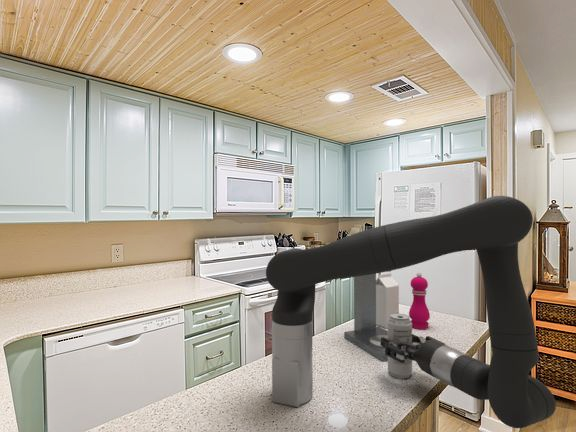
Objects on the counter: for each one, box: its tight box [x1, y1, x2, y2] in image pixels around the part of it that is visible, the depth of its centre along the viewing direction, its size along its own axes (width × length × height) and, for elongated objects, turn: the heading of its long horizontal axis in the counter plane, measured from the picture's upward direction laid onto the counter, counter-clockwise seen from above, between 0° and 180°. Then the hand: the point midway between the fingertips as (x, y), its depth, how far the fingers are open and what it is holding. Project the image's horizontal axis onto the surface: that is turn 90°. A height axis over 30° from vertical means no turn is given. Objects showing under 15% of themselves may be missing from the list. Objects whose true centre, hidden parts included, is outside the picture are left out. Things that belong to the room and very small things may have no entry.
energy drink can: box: [387, 313, 413, 379], centre depth 88 cm, size 6×6×15 cm
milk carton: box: [376, 272, 400, 329], centre depth 128 cm, size 7×7×19 cm
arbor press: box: [343, 271, 392, 362], centre depth 109 cm, size 20×22×34 cm
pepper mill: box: [408, 272, 431, 330], centre depth 125 cm, size 7×7×20 cm
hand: (394, 338), depth 89 cm, fingers open, 8 cm apart
